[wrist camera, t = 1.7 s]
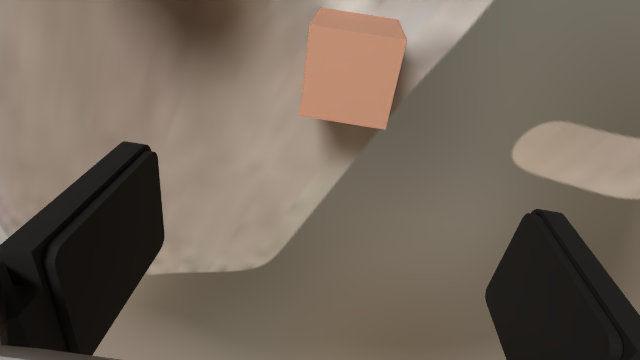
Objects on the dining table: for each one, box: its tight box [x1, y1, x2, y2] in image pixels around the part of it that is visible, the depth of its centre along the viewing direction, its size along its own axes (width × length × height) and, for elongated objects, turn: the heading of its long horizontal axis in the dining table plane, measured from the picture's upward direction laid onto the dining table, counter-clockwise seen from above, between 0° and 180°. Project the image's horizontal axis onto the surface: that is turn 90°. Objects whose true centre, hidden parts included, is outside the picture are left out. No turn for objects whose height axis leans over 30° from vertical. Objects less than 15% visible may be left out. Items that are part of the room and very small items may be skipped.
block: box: [299, 7, 407, 129], centre depth 24 cm, size 5×5×6 cm
